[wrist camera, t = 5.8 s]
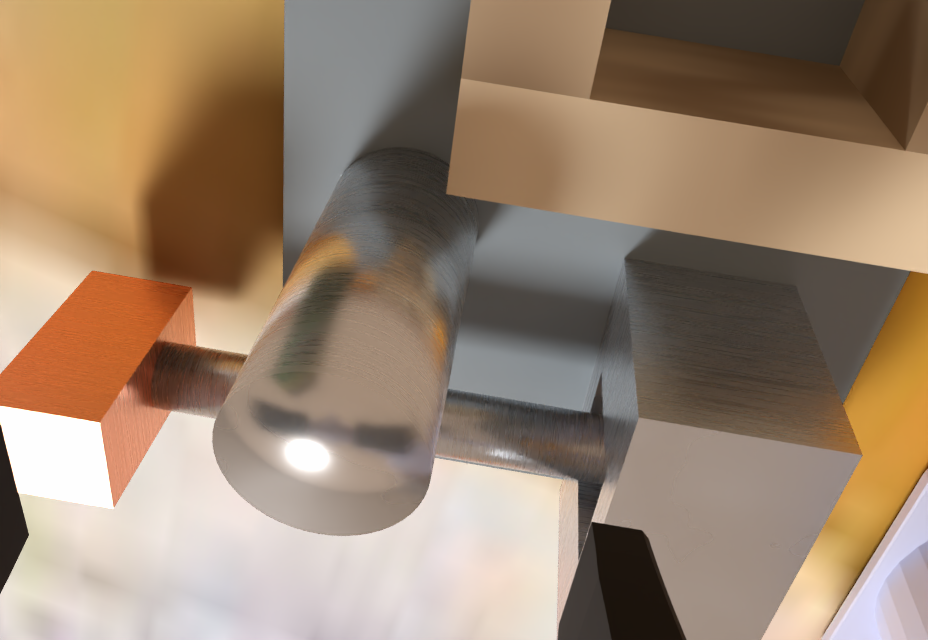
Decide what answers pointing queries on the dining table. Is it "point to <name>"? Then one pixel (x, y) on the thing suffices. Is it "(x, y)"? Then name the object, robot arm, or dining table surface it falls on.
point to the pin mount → (712, 442)
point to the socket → (701, 130)
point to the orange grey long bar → (205, 398)
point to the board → (538, 231)
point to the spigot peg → (355, 354)
